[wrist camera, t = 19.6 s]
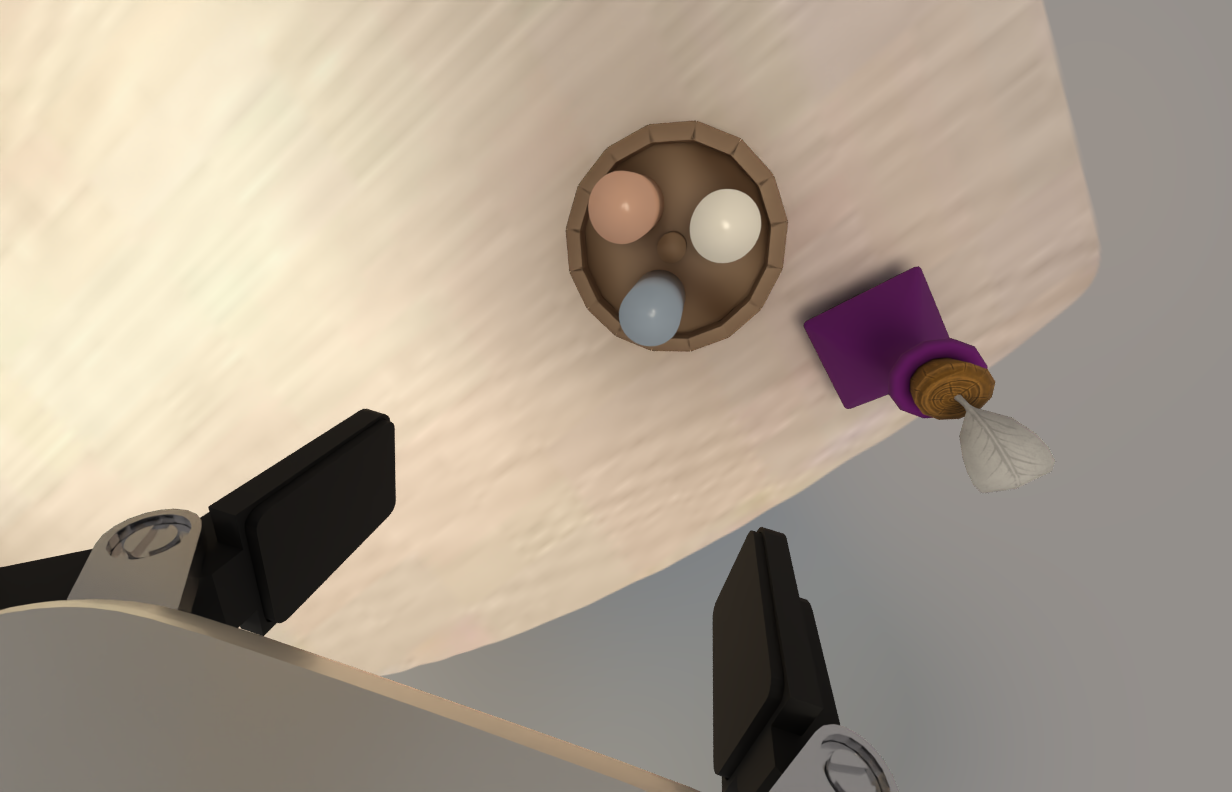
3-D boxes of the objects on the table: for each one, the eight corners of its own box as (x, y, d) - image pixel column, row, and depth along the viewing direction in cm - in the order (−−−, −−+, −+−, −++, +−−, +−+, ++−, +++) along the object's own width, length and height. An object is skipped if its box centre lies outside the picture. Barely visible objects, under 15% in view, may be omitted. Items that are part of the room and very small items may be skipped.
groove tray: (675, 71, 29) (672, 61, 26) (827, 240, 31) (835, 244, 29) (538, 247, 35) (527, 251, 33) (672, 376, 37) (670, 388, 35)
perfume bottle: (794, 311, 33) (871, 425, 17) (899, 257, 31) (1108, 334, 15) (834, 391, 35) (937, 560, 19) (937, 347, 33) (1157, 502, 17)
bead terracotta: (676, 203, 31) (669, 206, 26) (637, 246, 33) (623, 258, 27) (635, 160, 30) (619, 154, 25) (597, 206, 32) (575, 210, 27)
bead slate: (639, 263, 33) (626, 278, 28) (691, 277, 33) (688, 294, 28) (628, 314, 35) (613, 337, 30) (677, 327, 35) (671, 353, 29)
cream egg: (724, 175, 30) (727, 172, 24) (764, 219, 30) (776, 225, 25) (681, 222, 32) (675, 228, 26) (720, 262, 32) (722, 277, 27)
